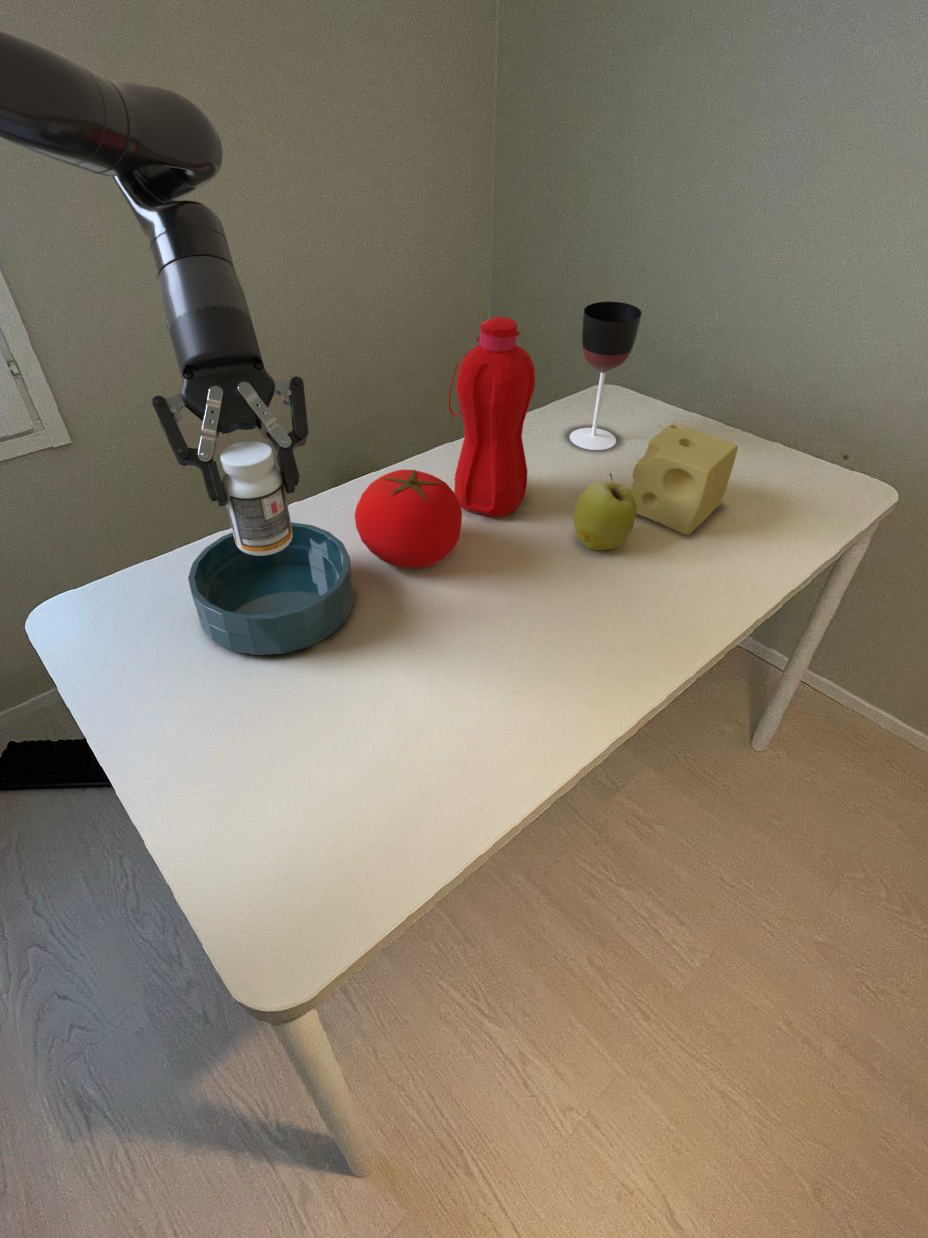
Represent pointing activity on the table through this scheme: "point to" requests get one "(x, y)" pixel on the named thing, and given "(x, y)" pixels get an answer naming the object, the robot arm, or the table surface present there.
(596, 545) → the apple
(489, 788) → the table surface
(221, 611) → the bowl
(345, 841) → the table surface
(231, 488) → the pill bottle
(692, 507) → the cheese
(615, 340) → the wineglass
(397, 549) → the tomato
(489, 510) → the water bottle
